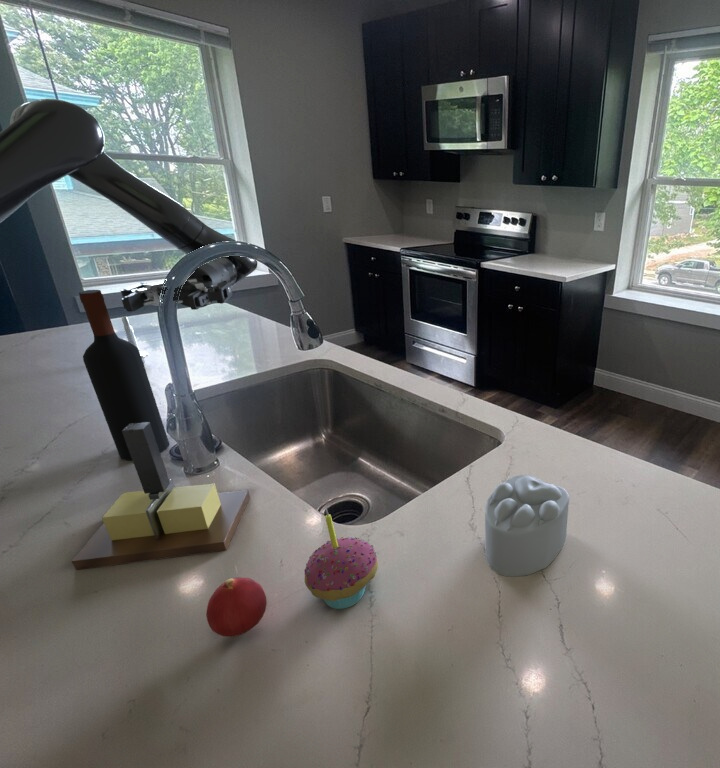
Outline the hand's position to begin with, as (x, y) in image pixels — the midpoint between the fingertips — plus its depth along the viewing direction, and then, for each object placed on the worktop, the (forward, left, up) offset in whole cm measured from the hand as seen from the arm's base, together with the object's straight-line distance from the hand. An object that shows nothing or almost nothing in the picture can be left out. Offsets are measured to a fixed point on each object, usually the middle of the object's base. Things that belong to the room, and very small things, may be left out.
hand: (160, 304), depth 70 cm
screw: (-36, +59, -30) cm, 75 cm away
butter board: (0, -15, -30) cm, 34 cm away
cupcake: (+26, -32, -30) cm, 51 cm away
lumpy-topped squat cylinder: (+50, -28, -30) cm, 65 cm away
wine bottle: (-14, +10, -30) cm, 35 cm away
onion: (+15, -35, -30) cm, 49 cm away
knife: (0, -15, -28) cm, 32 cm away
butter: (0, -15, -28) cm, 32 cm away
